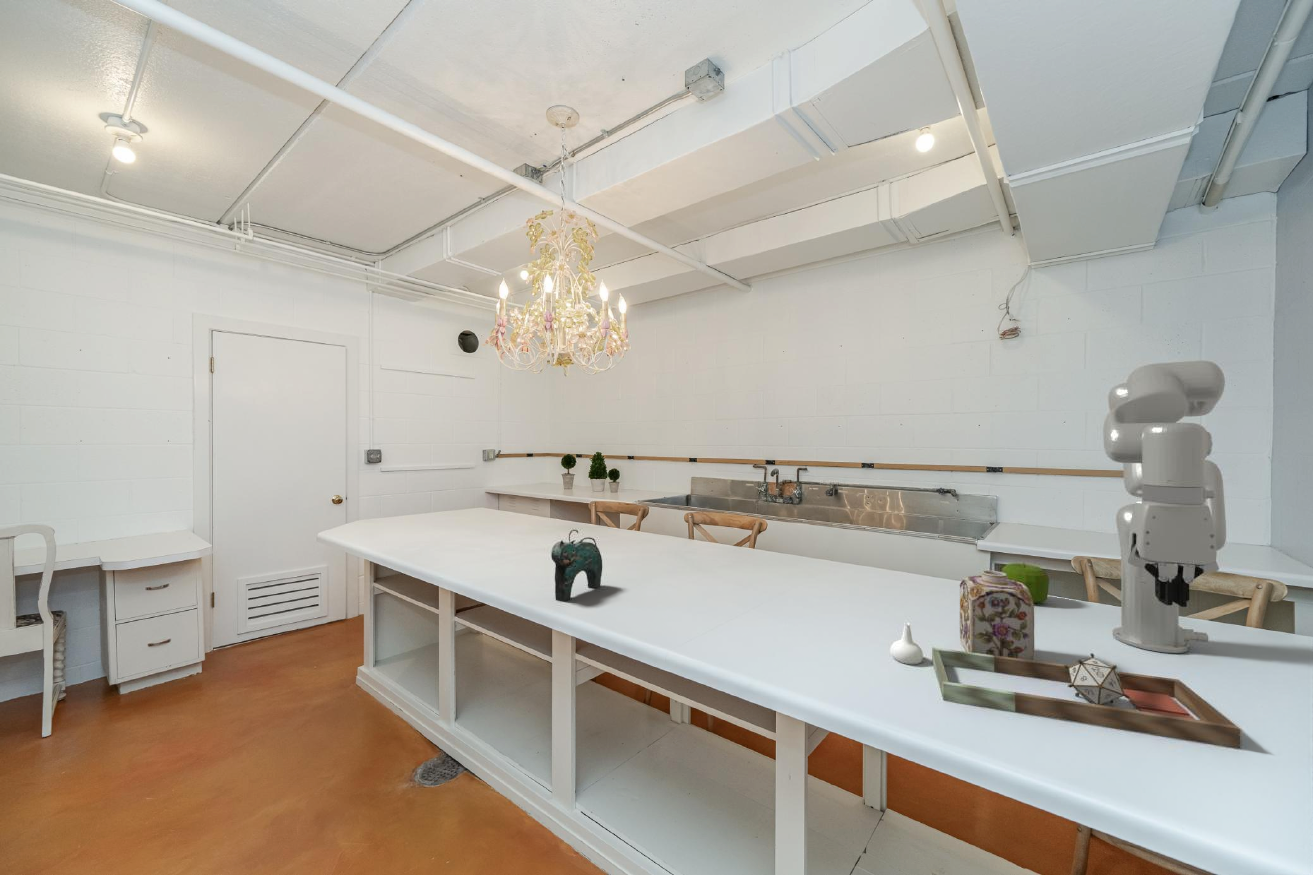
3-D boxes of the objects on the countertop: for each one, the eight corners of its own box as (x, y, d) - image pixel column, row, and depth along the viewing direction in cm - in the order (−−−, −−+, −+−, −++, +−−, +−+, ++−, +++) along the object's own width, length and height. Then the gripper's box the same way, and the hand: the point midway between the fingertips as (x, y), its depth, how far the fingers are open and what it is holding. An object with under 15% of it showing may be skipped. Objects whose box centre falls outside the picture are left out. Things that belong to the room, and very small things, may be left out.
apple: (1006, 604, 146) (1006, 565, 146) (997, 592, 156) (997, 556, 156) (1054, 608, 142) (1054, 568, 142) (1041, 596, 152) (1041, 559, 152)
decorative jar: (969, 662, 110) (969, 577, 110) (958, 641, 121) (958, 564, 121) (1036, 670, 106) (1036, 582, 105) (1019, 648, 117) (1018, 568, 116)
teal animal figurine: (562, 604, 149) (561, 534, 149) (546, 600, 153) (545, 532, 152) (606, 586, 166) (605, 524, 166) (590, 583, 169) (589, 522, 169)
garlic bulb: (891, 665, 110) (891, 629, 109) (889, 650, 116) (889, 616, 115) (924, 670, 108) (924, 633, 107) (921, 655, 113) (921, 619, 113)
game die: (1110, 727, 92) (1155, 698, 86) (1064, 710, 92) (1106, 679, 86) (1085, 682, 99) (1125, 652, 94) (1042, 666, 99) (1080, 635, 94)
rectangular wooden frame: (1178, 695, 95) (1178, 679, 95) (1240, 748, 79) (1240, 728, 79) (932, 661, 110) (932, 647, 110) (943, 700, 94) (943, 683, 94)
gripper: (1218, 495, 89) (1218, 602, 89) (1105, 492, 95) (1105, 592, 95) (1248, 500, 82) (1248, 616, 82) (1124, 497, 88) (1124, 605, 88)
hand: (1171, 603), depth 89 cm, fingers closed
